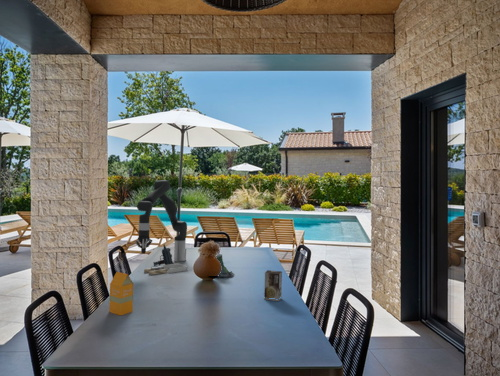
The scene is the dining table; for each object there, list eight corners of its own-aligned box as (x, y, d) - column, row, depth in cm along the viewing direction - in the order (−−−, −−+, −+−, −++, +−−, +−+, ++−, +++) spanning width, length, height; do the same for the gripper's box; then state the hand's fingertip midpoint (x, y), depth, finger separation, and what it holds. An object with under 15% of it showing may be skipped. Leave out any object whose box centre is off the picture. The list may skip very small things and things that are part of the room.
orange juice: (120, 315, 187) (121, 275, 187) (108, 311, 192) (109, 272, 191) (132, 311, 194) (133, 272, 193) (121, 307, 198) (122, 270, 198)
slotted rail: (161, 270, 282) (161, 266, 282) (167, 272, 275) (167, 269, 275) (144, 272, 273) (144, 269, 273) (149, 275, 266) (149, 271, 266)
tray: (178, 266, 294) (178, 263, 294) (187, 270, 284) (187, 266, 284) (160, 269, 284) (160, 265, 284) (168, 273, 274) (168, 269, 274)
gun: (150, 247, 296) (168, 242, 298) (155, 268, 297) (174, 263, 299) (149, 248, 294) (168, 243, 296) (154, 269, 295) (173, 264, 297)
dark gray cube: (161, 271, 279) (161, 265, 279) (164, 272, 276) (164, 266, 276) (156, 271, 277) (156, 266, 277) (159, 272, 274) (159, 267, 274)
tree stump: (240, 276, 274) (237, 253, 270) (220, 287, 260) (217, 263, 256) (223, 270, 287) (220, 248, 283) (203, 280, 273) (200, 257, 269)
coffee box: (281, 298, 223) (282, 271, 222) (278, 301, 216) (279, 273, 216) (266, 296, 225) (267, 269, 225) (263, 299, 219) (264, 272, 219)
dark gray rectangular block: (155, 271, 277) (156, 266, 276) (158, 273, 273) (158, 267, 273) (150, 272, 274) (150, 267, 274) (153, 273, 271) (153, 268, 271)
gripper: (150, 228, 274) (149, 251, 275) (133, 229, 266) (132, 253, 266) (155, 229, 269) (154, 253, 269) (137, 230, 260) (136, 255, 260)
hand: (143, 253), depth 268 cm, fingers closed
